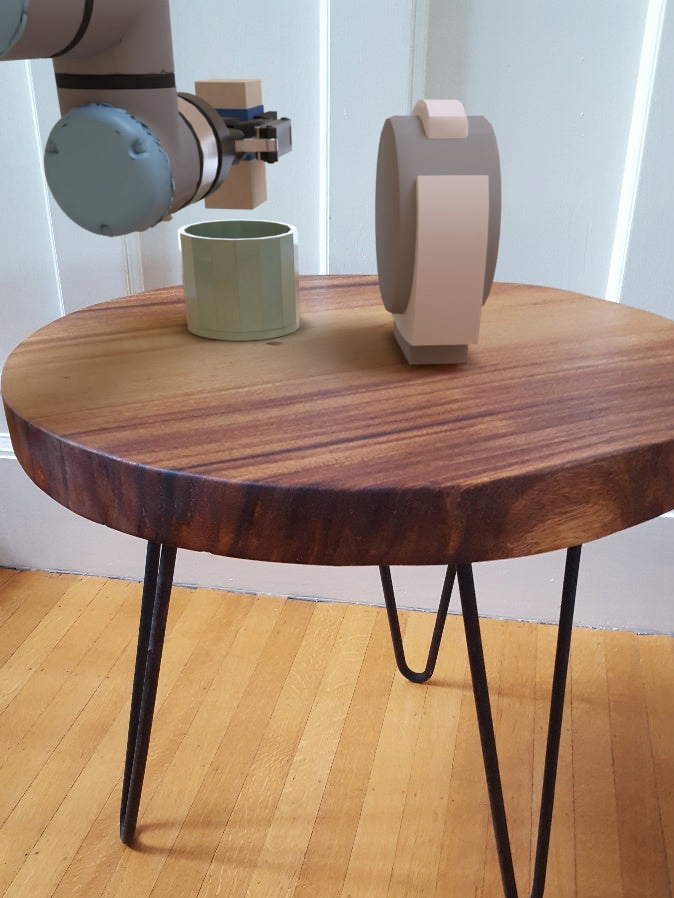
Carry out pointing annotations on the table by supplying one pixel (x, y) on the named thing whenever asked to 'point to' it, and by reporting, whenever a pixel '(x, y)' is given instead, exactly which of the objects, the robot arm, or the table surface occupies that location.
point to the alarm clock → (437, 227)
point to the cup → (240, 279)
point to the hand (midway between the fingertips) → (245, 127)
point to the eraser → (249, 175)
